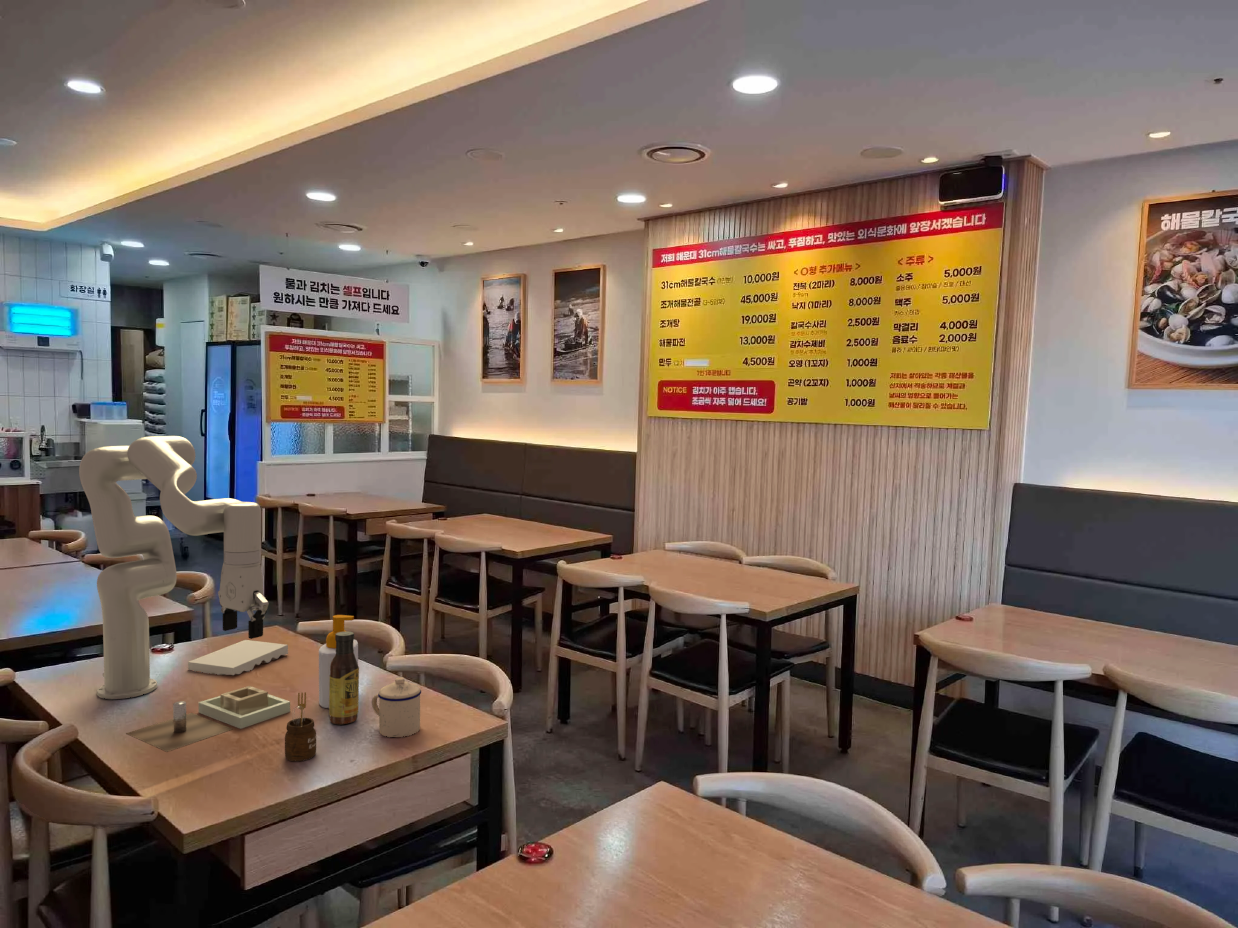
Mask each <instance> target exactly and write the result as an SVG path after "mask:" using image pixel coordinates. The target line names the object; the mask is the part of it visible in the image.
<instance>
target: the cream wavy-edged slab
mask: <svg viewBox="0 0 1238 928" xmlns="http://www.w3.org/2000/svg"><path fill="white" fill-rule="evenodd" d="M286 655H289V646H288V644H286V643H285V644H283V643H276V642H268V641H267V642H266V641H259V640H258V641H257V640H252V639H250V640H248V639H244V640H241V641H239V642H237V643H233V644H231V645H228V646H225V647H223V648H221V649H218V650H215V651H213V652H210V653H207V654H205V655H202V656H199V657H198V658H197V657H196V658H194V659H192V660H189V661H187V666H188V667H187V668H188V670H189V671H190V670H194V671H193V672H196V671H201V672H200V673H202V672H203V673H204V674H209V673H210V674H209V675H211V674H212V675H216V674H217V675H216V676H235V675H240V674H242V673H243V672H250V670H251V671H252V670H254V667H255V666H260V665H261V663H263V664H264V663H265V664H266V663H270V662H271V661H275V660H278V659H279V658H280V657H281V656H286Z"/></svg>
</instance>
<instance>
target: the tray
mask: <svg viewBox="0 0 1238 928" xmlns="http://www.w3.org/2000/svg"><path fill="white" fill-rule="evenodd" d="M197 703H198V713H199V714H202V715H204V716H206V717H209V718H212V719H214V720H217V721H220V722H222V723H224V724H228V725H229V726H232V727H234V728H236V729H237V728H238V729H241V730H242V729H245V728H247V727H251V726H252V725H256V724H259V723H262V722H265V721H267V720H271V719H273V718H277V717H279V716H282V715H284V714H285V715H286V714H287V713H290V712H291V701H289V700H286V699H284V698H281V697H278V696H275V695H272V694H269V693H268V707H267V708H264V709H261V710H258V711H255V712H252V713H249V714H245V715H239V714H236V713H234V712H231V711H228V710H226V709H223V708H221V702H220V695H218V696H215V697H212V698H208V699H205V700H201V701H198V702H197Z"/></svg>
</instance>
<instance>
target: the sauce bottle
mask: <svg viewBox="0 0 1238 928" xmlns="http://www.w3.org/2000/svg"><path fill="white" fill-rule="evenodd" d="M345 631H346V632H338V633H336V634H335V640H336V655H335V657H334V658H333V660H332V662H331V665H330V689H329V708H328V709H329V710H328V711H329V712H328V714H329V720H330V723H331V724H333V725H348V724H351V723H354V722H355V721H357V719H358V714H359V699H360V698H359V694H360V693H359V692H360V690H359V689H360V688H359V687H360V686H359V685H360V684H359V683H360V682H359V681H360V667H359V662H358V663H357V661H356V658H355V655H354V649H353V640H354V639H355V632H352V631H347V630H345Z"/></svg>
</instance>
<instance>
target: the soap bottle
mask: <svg viewBox="0 0 1238 928" xmlns="http://www.w3.org/2000/svg"><path fill="white" fill-rule="evenodd" d="M354 620H355V616H354V615H345V614H335V615H332V631H331V632H329V633H328V634H327V635H326V638H325V643H324V644H323V645H321V646H320V648H318V704H319V705H320V707H322V708H323V709H324V708H326V709H329V689H330V665H331V662H332V660H333V658H334V657H335V655H336V640H335V634H336V633H338V632H346V631H347V630H346V629H345V622H346V621H349V622H351V621H354ZM353 649H354V655H355V658H356V661H357V663H358V664H359V643H358V640H357V639H355V638H354V640H353Z"/></svg>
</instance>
